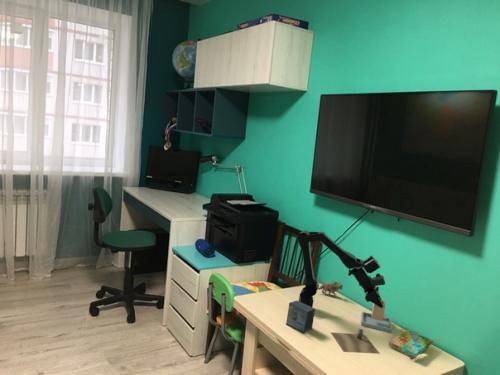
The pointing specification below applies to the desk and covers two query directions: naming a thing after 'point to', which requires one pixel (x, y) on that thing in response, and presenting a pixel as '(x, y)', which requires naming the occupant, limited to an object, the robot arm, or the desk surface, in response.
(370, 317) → the grey tray
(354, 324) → the desk surface
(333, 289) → the dinosaur figurine
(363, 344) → the walnut stake base
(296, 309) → the small box
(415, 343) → the puzzle game
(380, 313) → the wooden pen holder
